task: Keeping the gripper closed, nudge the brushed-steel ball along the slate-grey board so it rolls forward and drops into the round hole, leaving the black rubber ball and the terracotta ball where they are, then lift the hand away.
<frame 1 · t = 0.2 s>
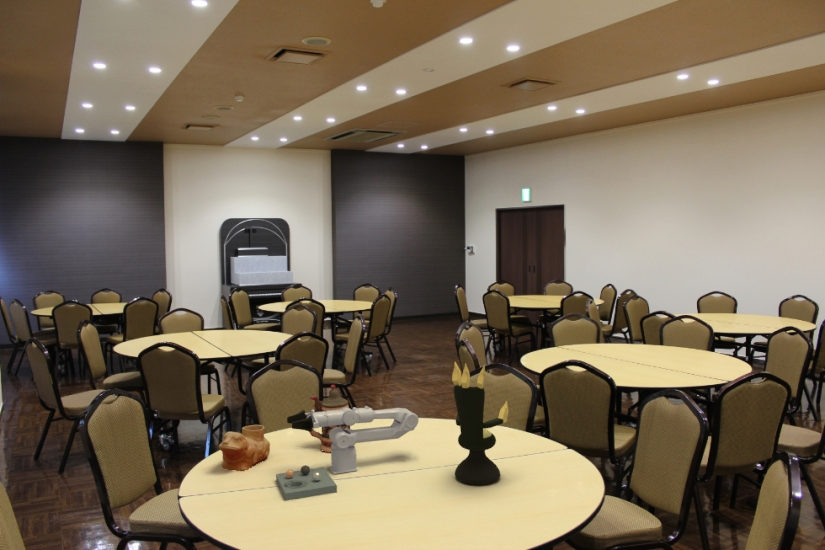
hand: (289, 422, 243), 21 cm above the table, tool horizontal, fingers open, 7 cm apart
steel ball: (316, 476, 235), point 4 cm above the table, touching plate
black ball: (305, 470, 241), point 4 cm above the table, touching plate
candelabra: (476, 480, 239), on the table
beer stein: (333, 447, 280), on the table
ceramic vessel: (244, 463, 262), on the table
terracotta ball: (289, 473, 238), point 4 cm above the table, touching plate
plate: (305, 486, 236), on the table
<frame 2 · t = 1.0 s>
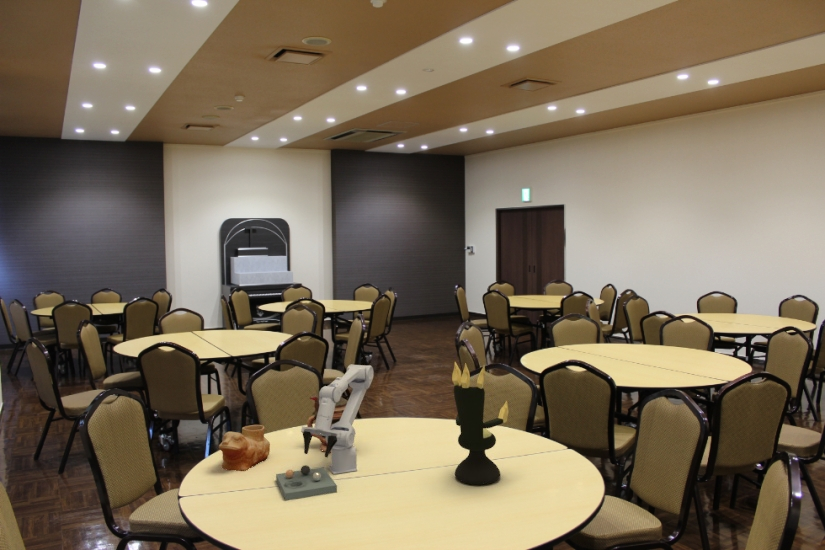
hand: (315, 455, 235), 12 cm above the table, tool tilted 30°, fingers open, 7 cm apart
nothing on the table moved.
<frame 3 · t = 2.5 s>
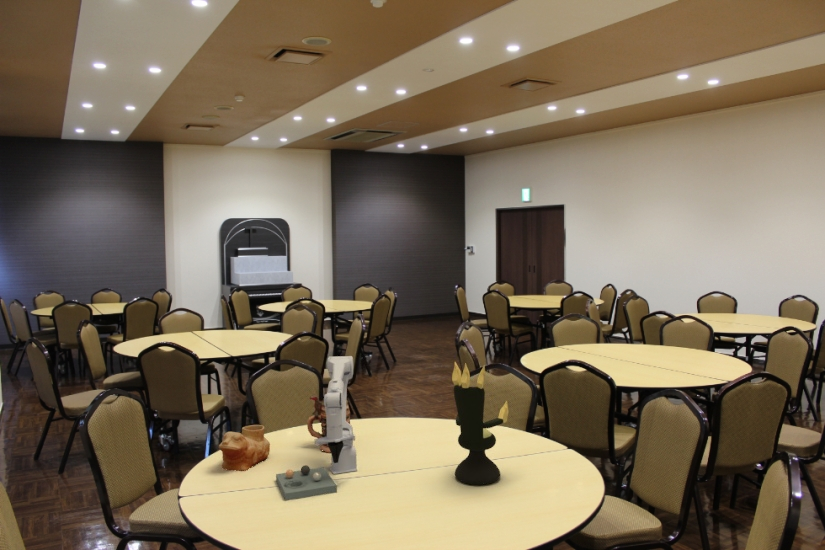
hand: (335, 462, 237), 8 cm above the table, tool pointing down, fingers closed
nothing on the table moved.
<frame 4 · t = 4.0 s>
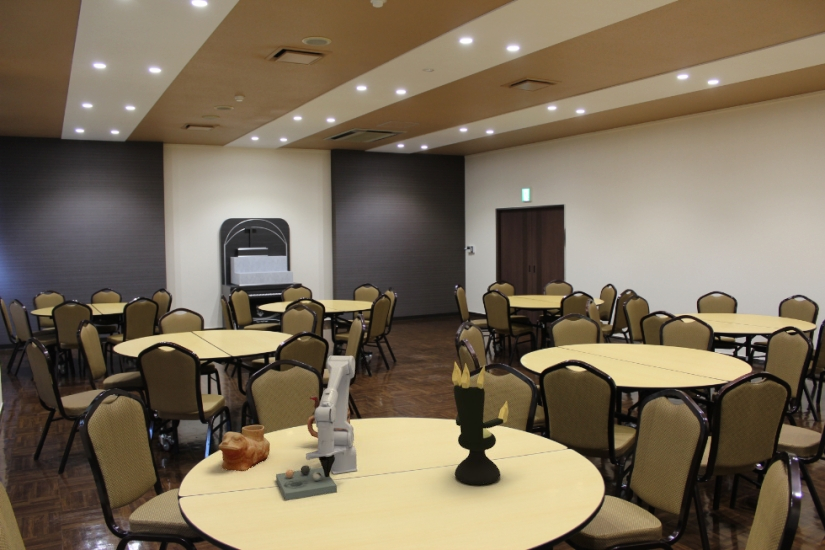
hand: (327, 476, 236), 4 cm above the table, tool pointing down, fingers closed
nothing on the table moved.
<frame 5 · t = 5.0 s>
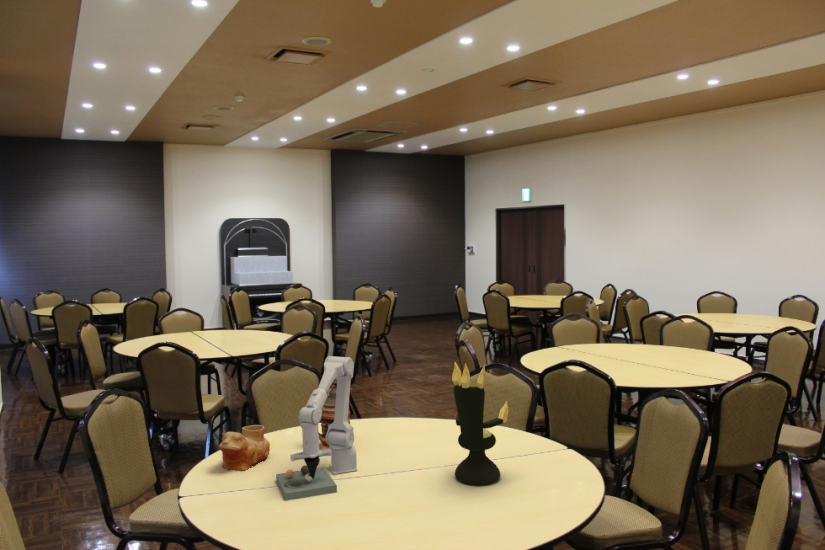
hand: (311, 477, 234), 4 cm above the table, tool pointing down, fingers closed, pressing on steel ball
steel ball: (308, 478, 233), point 4 cm above the table, tilted 106°, touching gripper, plate
everything else where it was.
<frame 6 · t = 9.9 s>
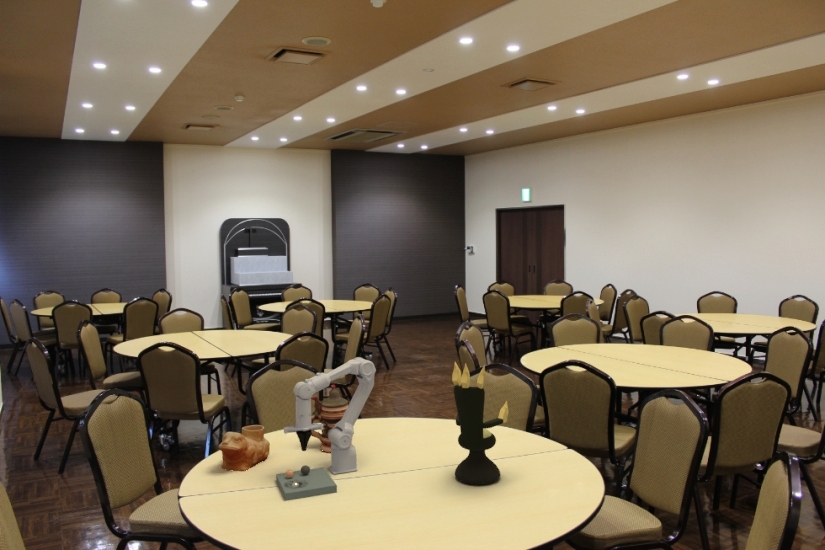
hand: (303, 450, 245), 10 cm above the table, tool pointing down, fingers closed
steel ball: (295, 486, 232), point 2 cm above the table, tilted 30°
everything else where it was.
at the end: steel ball 0.4 cm from the target spot in the plate, point 1.6 cm above the plate's base; black ball moved 0.1 cm from its start; terracotta ball moved 0.1 cm from its start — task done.
